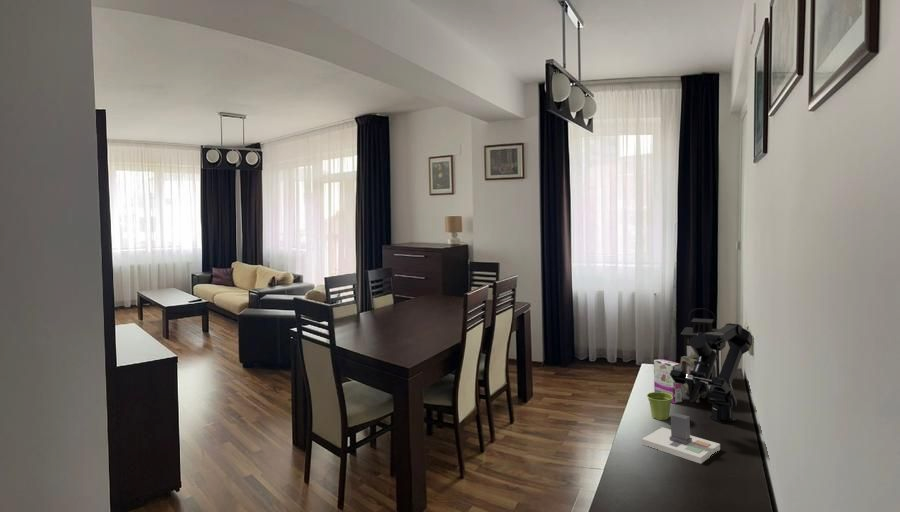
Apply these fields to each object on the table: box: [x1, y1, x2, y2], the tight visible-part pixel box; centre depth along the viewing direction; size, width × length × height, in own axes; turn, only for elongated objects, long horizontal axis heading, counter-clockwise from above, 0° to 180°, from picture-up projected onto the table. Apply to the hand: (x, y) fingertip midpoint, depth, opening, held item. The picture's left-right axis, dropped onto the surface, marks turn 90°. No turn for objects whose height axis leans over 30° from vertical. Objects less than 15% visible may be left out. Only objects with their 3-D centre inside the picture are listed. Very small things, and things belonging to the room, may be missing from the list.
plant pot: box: [646, 391, 673, 421], centre depth 194 cm, size 9×9×9 cm
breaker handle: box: [670, 412, 692, 445], centre depth 169 cm, size 4×6×8 cm
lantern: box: [680, 307, 723, 377], centre depth 236 cm, size 17×17×35 cm
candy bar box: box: [653, 358, 683, 404], centre depth 214 cm, size 11×5×16 cm, turn 23°
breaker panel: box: [641, 426, 721, 465], centre depth 169 cm, size 14×20×2 cm
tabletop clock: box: [679, 352, 716, 404], centre depth 212 cm, size 14×9×25 cm, turn 178°
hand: (691, 401), depth 173 cm, fingers closed
